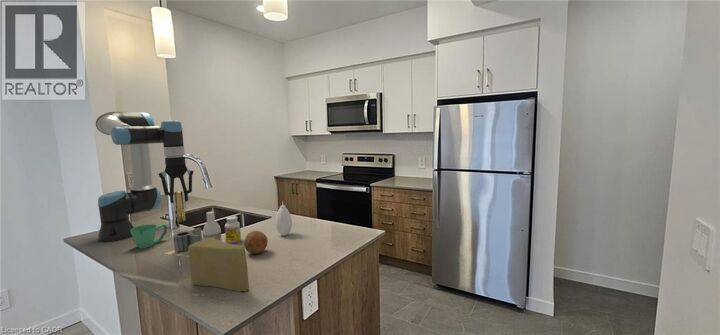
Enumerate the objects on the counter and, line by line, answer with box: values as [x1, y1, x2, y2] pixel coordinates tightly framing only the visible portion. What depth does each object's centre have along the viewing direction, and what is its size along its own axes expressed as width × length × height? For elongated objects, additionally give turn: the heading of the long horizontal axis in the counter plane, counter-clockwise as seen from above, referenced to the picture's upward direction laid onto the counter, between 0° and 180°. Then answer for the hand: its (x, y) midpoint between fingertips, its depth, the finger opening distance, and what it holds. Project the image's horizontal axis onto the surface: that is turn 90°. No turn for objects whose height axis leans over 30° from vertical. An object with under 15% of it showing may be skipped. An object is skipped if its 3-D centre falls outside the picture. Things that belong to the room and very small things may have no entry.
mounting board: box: [162, 248, 189, 258], centre depth 138 cm, size 15×16×1 cm
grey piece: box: [172, 227, 203, 252], centre depth 139 cm, size 13×13×7 cm
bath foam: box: [202, 211, 223, 242], centre depth 128 cm, size 7×7×20 cm
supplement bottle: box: [224, 215, 242, 245], centre depth 145 cm, size 7×7×13 cm
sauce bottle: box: [275, 200, 293, 237], centre depth 155 cm, size 8×8×18 cm
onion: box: [243, 230, 269, 255], centre depth 133 cm, size 10×10×10 cm
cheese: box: [188, 237, 250, 293], centre depth 106 cm, size 22×10×15 cm, turn 65°
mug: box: [130, 223, 168, 249], centre depth 144 cm, size 15×10×10 cm
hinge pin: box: [174, 190, 186, 222], centre depth 135 cm, size 3×3×13 cm
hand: (180, 209), depth 135 cm, fingers closed on hinge pin, 3 cm apart
